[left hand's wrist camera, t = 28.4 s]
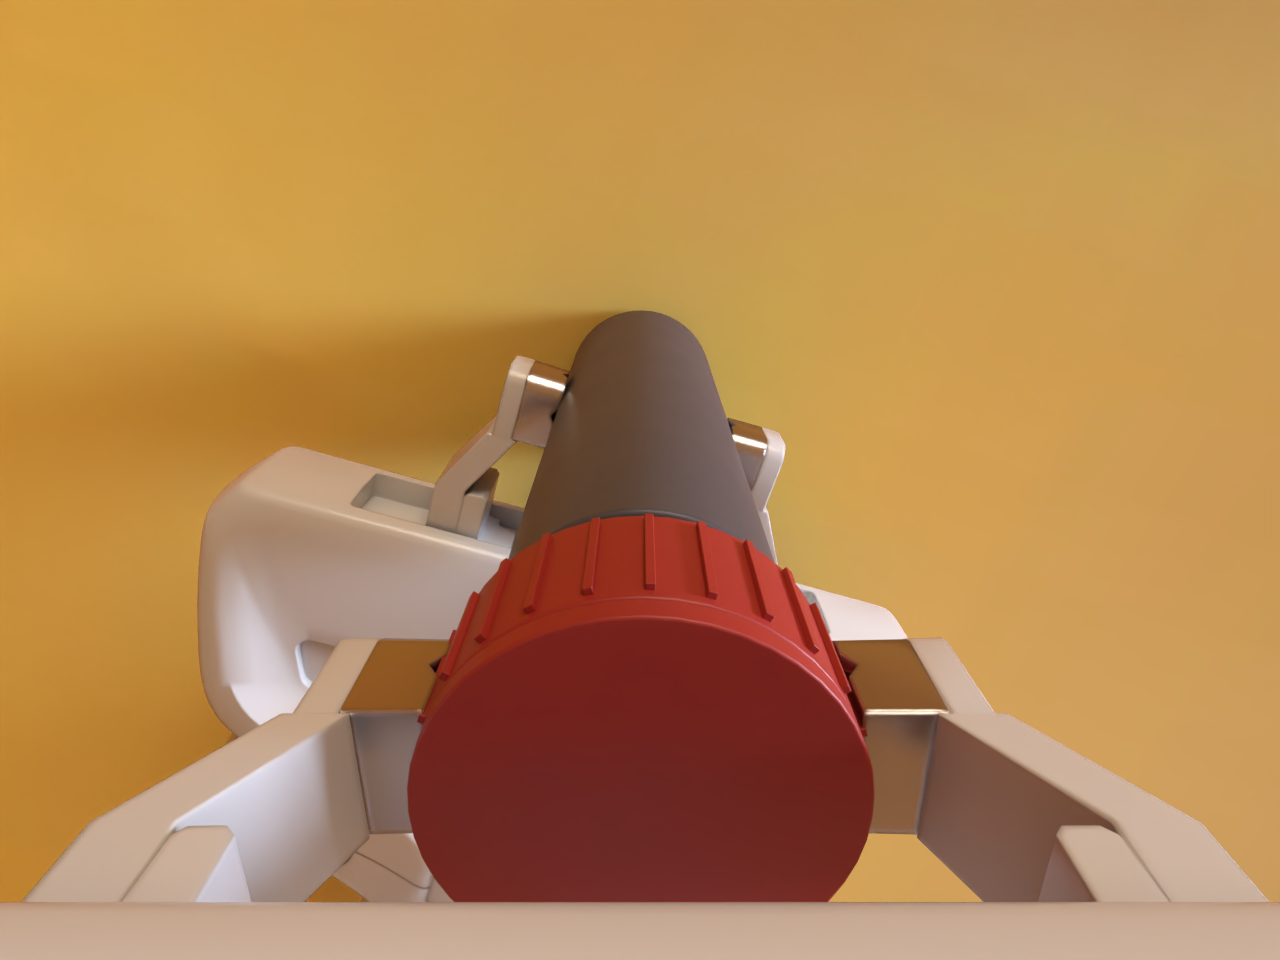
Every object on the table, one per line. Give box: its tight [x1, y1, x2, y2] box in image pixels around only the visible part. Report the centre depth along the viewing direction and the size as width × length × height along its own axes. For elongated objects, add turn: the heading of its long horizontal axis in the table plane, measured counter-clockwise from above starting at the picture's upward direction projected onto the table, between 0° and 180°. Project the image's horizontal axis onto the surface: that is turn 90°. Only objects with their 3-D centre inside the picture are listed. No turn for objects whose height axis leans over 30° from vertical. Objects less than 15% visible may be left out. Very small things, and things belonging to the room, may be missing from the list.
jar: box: [508, 311, 775, 563], centre depth 17 cm, size 4×4×17 cm
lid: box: [407, 513, 875, 902], centre depth 9 cm, size 5×5×2 cm
